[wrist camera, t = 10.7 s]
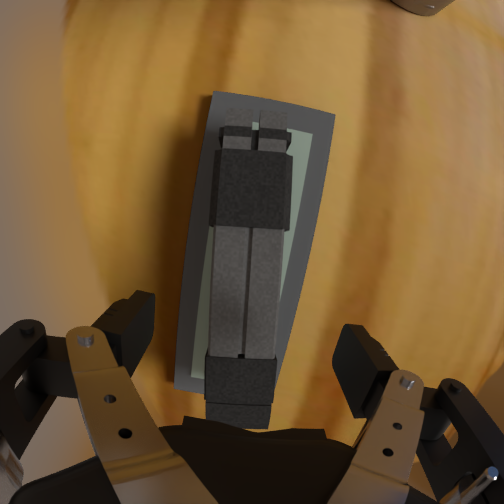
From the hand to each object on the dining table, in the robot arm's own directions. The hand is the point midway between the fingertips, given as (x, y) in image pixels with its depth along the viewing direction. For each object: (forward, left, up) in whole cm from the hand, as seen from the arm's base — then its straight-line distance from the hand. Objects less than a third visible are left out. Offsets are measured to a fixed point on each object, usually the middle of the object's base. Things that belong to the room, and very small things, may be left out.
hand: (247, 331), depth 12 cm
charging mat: (0, 0, -11) cm, 11 cm away
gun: (0, 0, -10) cm, 10 cm away
